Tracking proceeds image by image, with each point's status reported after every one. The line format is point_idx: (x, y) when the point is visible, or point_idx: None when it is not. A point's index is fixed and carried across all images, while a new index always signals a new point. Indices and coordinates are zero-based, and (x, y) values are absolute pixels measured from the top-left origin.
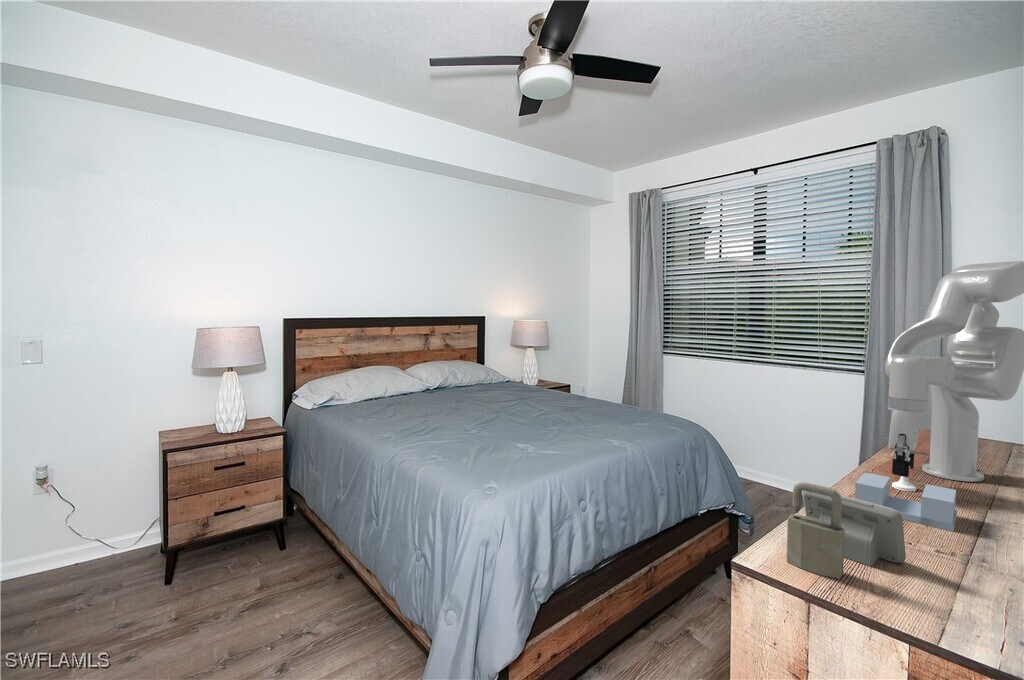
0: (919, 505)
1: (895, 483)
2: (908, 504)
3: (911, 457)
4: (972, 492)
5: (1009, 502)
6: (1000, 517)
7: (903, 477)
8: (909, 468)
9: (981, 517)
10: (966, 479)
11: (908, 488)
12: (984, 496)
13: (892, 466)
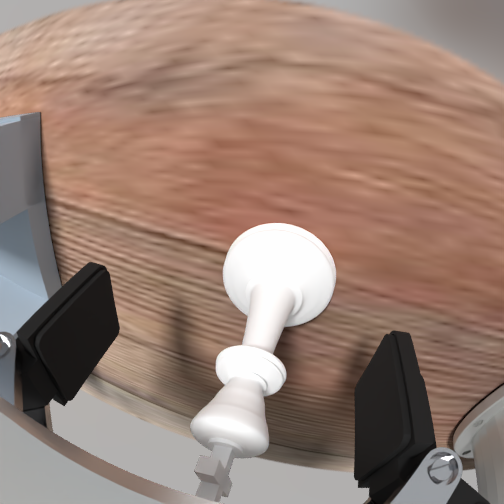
0: (25, 281)
1: (262, 248)
2: (12, 254)
3: (360, 455)
4: (353, 436)
5: (299, 462)
6: (156, 416)
7: (249, 310)
8: (364, 376)
9: (122, 386)
10: (454, 440)
11: (227, 293)
12: (325, 445)
13: (58, 291)
